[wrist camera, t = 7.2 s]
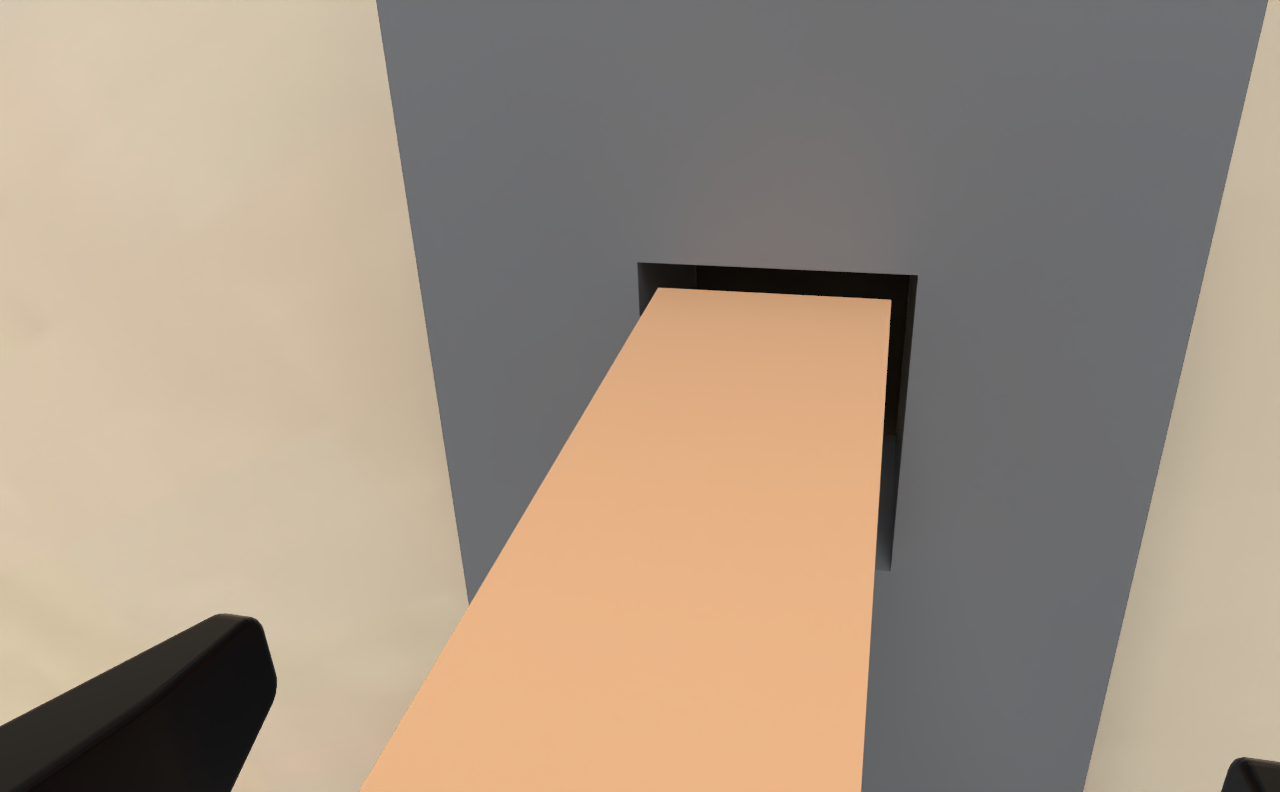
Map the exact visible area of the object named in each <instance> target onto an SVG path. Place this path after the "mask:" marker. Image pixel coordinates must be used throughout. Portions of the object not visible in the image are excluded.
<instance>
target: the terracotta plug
mask: <svg viewBox="0 0 1280 792" xmlns="http://www.w3.org/2000/svg"><path fill="white" fill-rule="evenodd" d="M890 314H891V300H887V299H868V298H849V297H830V296H810V295H791V294H772V293H753V292H733V291H714V290H695V289H676V288H658V289H657V290H656V292H655V294H654V295H653V297H652V299H651V300H650V302H649V304H648V306H647V307H646V309H645V311H644V312H643V314H642V316H641V317H640V319H639V321H638V322H637V324H636V326H635V327H634V329H633V331H632V332H631V334H630V336H629V338H628V339H627V341H626V343H625V344H624V346H623V348H622V349H621V351H620V353H619V354H618V356H617V358H616V359H615V361H614V363H613V364H612V366H611V368H610V370H609V371H608V373H607V375H606V376H605V378H604V380H603V381H602V383H601V385H600V386H599V388H598V390H597V391H596V393H595V395H594V396H593V398H592V400H591V401H590V403H589V405H588V407H587V408H586V410H585V412H584V413H583V415H582V417H581V418H580V420H579V422H578V423H577V425H576V427H575V428H574V430H573V432H572V433H571V435H570V437H569V439H568V440H567V442H566V444H565V445H564V447H563V449H562V450H561V452H560V454H559V455H558V457H557V459H556V460H555V462H554V464H553V465H552V467H551V469H550V470H549V472H548V474H547V476H546V477H545V479H544V481H543V482H542V484H541V486H540V487H539V489H538V491H537V492H536V494H535V496H534V497H533V499H532V501H531V502H530V504H529V506H528V508H527V509H526V511H525V513H524V514H523V516H522V518H521V519H520V521H519V523H518V524H517V526H516V528H515V529H514V531H513V533H512V534H511V536H510V538H509V540H508V541H507V543H506V545H505V546H504V548H503V550H502V551H501V553H500V555H499V556H498V558H497V560H496V561H495V563H494V565H493V566H492V568H491V570H490V571H489V573H488V575H487V577H486V578H485V580H484V582H483V583H482V585H481V587H480V588H479V590H478V592H477V593H476V595H475V597H474V598H473V600H472V602H471V603H470V605H469V607H468V609H467V610H466V612H465V614H464V615H463V617H462V619H461V620H460V622H459V624H458V625H457V627H456V629H455V630H454V632H453V634H452V635H451V637H450V639H449V641H448V642H447V644H446V646H445V647H444V649H443V651H442V652H441V654H440V656H439V657H438V659H437V661H436V662H435V664H434V666H433V667H432V669H431V671H430V672H429V674H428V676H427V678H426V679H425V681H424V683H423V684H422V686H421V688H420V689H419V691H418V693H417V694H416V696H415V698H414V699H413V701H412V703H411V704H410V706H409V708H408V710H407V711H406V713H405V715H404V716H403V718H402V720H401V721H400V723H399V725H398V726H397V728H396V730H395V731H394V733H393V735H392V736H391V738H390V740H389V742H388V743H387V745H386V747H385V748H384V750H383V752H382V753H381V755H380V757H379V758H378V760H377V762H376V763H375V765H374V767H373V768H372V770H371V772H370V773H369V775H368V777H367V779H366V780H365V782H364V784H363V785H362V787H361V789H360V790H359V792H861V784H862V768H863V751H864V735H865V719H866V703H867V686H868V670H869V654H870V638H871V622H872V605H873V589H874V573H875V557H876V541H877V524H878V508H879V492H880V476H881V460H882V443H883V427H884V411H885V395H886V378H887V362H888V346H889V330H890Z"/></svg>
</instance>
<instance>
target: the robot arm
mask: <svg viewBox="0 0 1280 792" xmlns="http://www.w3.org/2000/svg"><path fill="white" fill-rule="evenodd" d="M276 688H277V677H276V672H275V669H274V665H273V662H272V658H271V655H270V651H269V647H268V644H267V640H266V637H265V633H264V630H263V627H262V625H261V624H260V623H259V622H258V620H257V619H254V618H252V617H247V616H240V615H233V614H217V615H214V616H212V617H210V618H208V619H206V620H204V621H202V622H200V623H198V624H196V625H194V626H192V627H191V628H189V629H187V630H185V631H183V632H181V633H179V634H177V635H175V636H173V637H171V638H169V639H167V640H166V641H164V642H162V643H160V644H158V645H156V646H154V647H152V648H150V649H148V650H146V651H144V652H142V653H140V654H139V655H137V656H135V657H133V658H131V659H129V660H127V661H125V662H123V663H121V664H119V665H117V666H115V667H114V668H112V669H110V670H108V671H106V672H104V673H102V674H100V675H98V676H96V677H94V678H92V679H90V680H88V681H87V682H85V683H83V684H81V685H79V686H77V687H75V688H73V689H71V690H69V691H67V692H65V693H63V694H61V695H60V696H58V697H56V698H54V699H52V700H50V701H48V702H46V703H44V704H42V705H40V706H38V707H36V708H34V709H33V710H31V711H29V712H27V713H25V714H23V715H21V716H19V717H17V718H15V719H13V720H11V721H9V722H7V723H6V724H4V725H2V726H0V792H231V790H232V788H233V786H234V784H235V782H236V780H237V777H238V775H239V773H240V771H241V769H242V767H243V765H244V763H245V761H246V758H247V756H248V754H249V752H250V750H251V748H252V746H253V744H254V742H255V739H256V737H257V735H258V733H259V731H260V729H261V727H262V725H263V723H264V720H265V718H266V716H267V714H268V712H269V710H270V708H271V706H272V703H273V701H274V698H275V694H276ZM1221 792H1280V762H1275V761H1268V760H1261V759H1254V758H1247V757H1242V758H1237V759H1235V760H1234V761H1233V762H1232V764H1231V765H1230V767H1229V769H1228V772H1227V775H1226V778H1225V781H1224V784H1223V788H1222V791H1221Z"/></svg>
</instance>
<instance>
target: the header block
mask: <svg viewBox="0 0 1280 792" xmlns="http://www.w3.org/2000/svg"><path fill="white" fill-rule="evenodd" d="M376 2H377V9H378V15H379V22H380V28H381V35H382V41H383V48H384V54H385V61H386V68H387V74H388V81H389V87H390V94H391V100H392V107H393V113H394V120H395V126H396V133H397V139H398V146H399V152H400V159H401V165H402V172H403V178H404V185H405V191H406V198H407V204H408V211H409V217H410V224H411V230H412V237H413V243H414V250H415V256H416V263H417V269H418V276H419V282H420V289H421V295H422V302H423V308H424V315H425V321H426V328H427V334H428V341H429V348H430V354H431V361H432V367H433V374H434V380H435V387H436V393H437V400H438V406H439V413H440V419H441V426H442V432H443V439H444V445H445V452H446V458H447V465H448V471H449V478H450V484H451V491H452V497H453V504H454V510H455V517H456V523H457V530H458V536H459V543H460V549H461V556H462V562H463V569H464V575H465V582H466V588H467V595H468V601H469V605H470V603H471V602H472V600H473V598H474V597H475V595H476V593H477V592H478V590H479V588H480V587H481V585H482V583H483V582H484V580H485V578H486V577H487V575H488V573H489V571H490V570H491V568H492V566H493V565H494V563H495V561H496V560H497V558H498V556H499V555H500V553H501V551H502V550H503V548H504V546H505V545H506V543H507V541H508V540H509V538H510V536H511V534H512V533H513V531H514V529H515V528H516V526H517V524H518V523H519V521H520V519H521V518H522V516H523V514H524V513H525V511H526V509H527V508H528V506H529V504H530V502H531V501H532V499H533V497H534V496H535V494H536V492H537V491H538V489H539V487H540V486H541V484H542V482H543V481H544V479H545V477H546V476H547V474H548V472H549V470H550V469H551V467H552V465H553V464H554V462H555V460H556V459H557V457H558V455H559V454H560V452H561V450H562V449H563V447H564V445H565V444H566V442H567V440H568V439H569V437H570V435H571V433H572V432H573V430H574V428H575V427H576V425H577V423H578V422H579V420H580V418H581V417H582V415H583V413H584V412H585V410H586V408H587V407H588V405H589V403H590V401H591V400H592V398H593V396H594V395H595V393H596V391H597V390H598V388H599V386H600V385H601V383H602V381H603V380H604V378H605V376H606V375H607V373H608V371H609V370H610V368H611V366H612V364H613V363H614V361H615V359H616V358H617V356H618V354H619V353H620V351H621V349H622V348H623V346H624V344H625V343H626V341H627V339H628V338H629V336H630V334H631V332H632V331H633V329H634V327H635V326H636V324H637V322H638V321H639V319H640V317H641V316H642V314H643V312H644V311H645V309H646V307H647V306H648V304H649V302H650V300H651V299H652V297H653V295H654V294H655V292H656V290H657V289H658V288H676V289H695V290H696V265H708V266H730V267H751V268H773V269H795V270H816V271H838V272H859V273H881V274H903V275H910V284H909V295H908V306H907V317H906V328H905V340H904V351H903V362H902V373H901V384H900V396H899V407H898V418H897V429H896V435H886V434H883V443H882V460H881V476H880V492H879V508H878V524H877V541H876V557H875V573H874V589H873V605H872V622H871V638H870V654H869V670H868V686H867V703H866V719H865V735H864V751H863V768H862V784H861V792H1083V789H1084V785H1085V780H1086V776H1087V772H1088V768H1089V763H1090V759H1091V755H1092V751H1093V746H1094V742H1095V738H1096V734H1097V729H1098V725H1099V721H1100V716H1101V712H1102V708H1103V704H1104V699H1105V695H1106V691H1107V687H1108V682H1109V678H1110V674H1111V669H1112V665H1113V661H1114V657H1115V652H1116V648H1117V644H1118V640H1119V635H1120V631H1121V627H1122V622H1123V618H1124V614H1125V610H1126V605H1127V601H1128V597H1129V593H1130V588H1131V584H1132V580H1133V575H1134V571H1135V567H1136V563H1137V558H1138V554H1139V550H1140V546H1141V541H1142V537H1143V533H1144V528H1145V524H1146V520H1147V516H1148V511H1149V507H1150V503H1151V499H1152V494H1153V490H1154V486H1155V482H1156V477H1157V473H1158V469H1159V464H1160V460H1161V456H1162V452H1163V447H1164V443H1165V439H1166V435H1167V430H1168V426H1169V422H1170V417H1171V413H1172V409H1173V405H1174V400H1175V396H1176V392H1177V388H1178V383H1179V379H1180V375H1181V370H1182V366H1183V362H1184V358H1185V353H1186V349H1187V345H1188V341H1189V336H1190V332H1191V328H1192V323H1193V319H1194V315H1195V311H1196V306H1197V302H1198V298H1199V294H1200V289H1201V285H1202V281H1203V276H1204V272H1205V268H1206V264H1207V259H1208V255H1209V251H1210V247H1211V242H1212V238H1213V234H1214V230H1215V225H1216V221H1217V217H1218V212H1219V208H1220V204H1221V200H1222V195H1223V191H1224V187H1225V183H1226V178H1227V174H1228V170H1229V165H1230V161H1231V157H1232V153H1233V148H1234V144H1235V140H1236V136H1237V131H1238V127H1239V123H1240V118H1241V114H1242V110H1243V106H1244V101H1245V97H1246V93H1247V89H1248V84H1249V80H1250V76H1251V71H1252V67H1253V63H1254V59H1255V54H1256V50H1257V46H1258V42H1259V37H1260V33H1261V29H1262V24H1263V20H1264V16H1265V12H1266V7H1267V3H1268V0H376Z"/></svg>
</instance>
